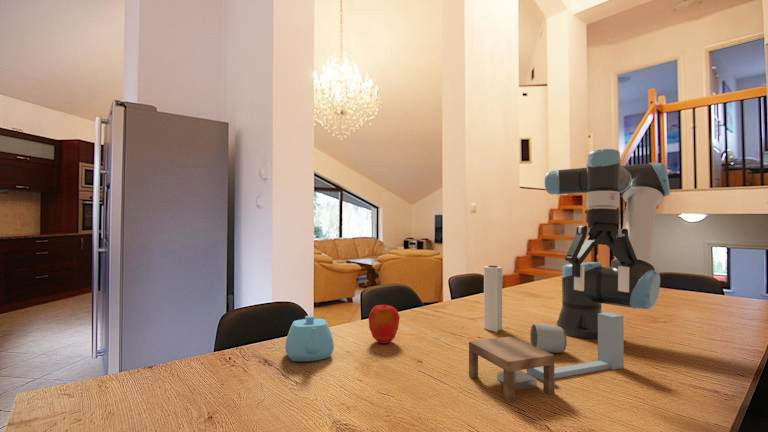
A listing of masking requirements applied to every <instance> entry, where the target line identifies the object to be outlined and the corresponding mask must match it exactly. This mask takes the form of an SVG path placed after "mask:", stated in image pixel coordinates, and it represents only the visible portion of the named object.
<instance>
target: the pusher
mask: <svg viewBox="0 0 768 432" xmlns="http://www.w3.org/2000/svg"><path fill="white" fill-rule="evenodd" d="M624 321H625V320H624V315H622V314H617V313H615V312H610V311H609V312H608V311H607V312H602V313H598V338H597V361H596V360H595V361H590V362H583V363H578V364H570V365H566V366H560V367H554V385H555V384H556V381H555V379H559V378H565V377H572V376H575V375H582V374H586V373H593V372H600V371H605V370H618V369H623V368H625V367H624V365H625V364H624V362H625V361H624V360H625V359H624V358H625V357H624V355H625V352H624V351H625V348H624V347H625V345H624V343H625V342H624V339H625V338H624V336H625V335H624V332H625V330H624ZM526 374H528V375H530V376H532V377H534V378H536V379H537V380H538V381H541V382H543V383H544V368H542V367H536V368H530V369H526Z"/></svg>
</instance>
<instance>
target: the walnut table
mask: <svg viewBox="0 0 768 432" xmlns="http://www.w3.org/2000/svg"><path fill="white" fill-rule="evenodd" d="M479 357H481V358H482V359H485V360H486V361H487V362H489V363H491V364H493V365H495V366H497V367H498V368H501V369H502V370H503V372H504V383H503V400H504V401H506V402H508V403H511V402H514V401H515V390H514V371H518V370H521V371H523V370H527V369H530V368H536V367H539V368H542V367H543V370H544V382H543V392H545V393H547V394H548V395H550V394H555V384H554V368H555V354H554V353H551V352H546V351H544V350H541V349H539V348H536V347H534V346H532V345H531V344H529V343H527V342H524V341H522V340H519V339H517V338H515V337H512V336H505V337H504V336H503V337H496V338H494V337H493V338H487V339H486V338H485V339H479V340H471V341H468V377H469V378H471V379H474V378H475V379H477V378H479Z"/></svg>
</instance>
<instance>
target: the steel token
mask: <svg viewBox="0 0 768 432" xmlns="http://www.w3.org/2000/svg"><path fill="white" fill-rule="evenodd" d="M496 374H497V375H496V379H497V381H499V382H500V383H502V384H504V371H501V372H500V371H499V372H497V373H496ZM535 387H538V379H537V378H535V377H533V376H531V375H529V374H527V372H525V371H523V370H518V371H514V391H519V390H524V389H529V388H535Z"/></svg>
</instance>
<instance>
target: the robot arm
mask: <svg viewBox="0 0 768 432" xmlns="http://www.w3.org/2000/svg"><path fill="white" fill-rule="evenodd" d="M586 160H587V161H586V167H579V168H569V169H568V168H567V169H556V170H550V171H548V172H547V173H546V174H545V176H544V188H545V191H546V192H547V194H549V195H557V196H558V195H574V194H586V208H587V210H586V212H585V213H586V219H585V220H586V221H585V223H586V224H587V225H577V227H576V231H575V232H576V233H575V236H574V237H573V240H572V242H571V244H570V246H569V248H568V250H567V253H566V255H565V257H564V260H565V261H566V262H568V263H567V264H565V265H563V266H562V272H561V273H562V274H561V301H562V303H561V310H560V311H559V316H558V319H557V321H556V326H558V327H561V328H563V329H564V331H565V334H566V336H571V337H575V338H583V339H598V313H603V311H602V304H604V305H611V306H616V307H617V306H618V307H624V308H625V307H626V308H630V309H631V308H632V309H643V310H649V309H651V308H653V307H654V306H655V304H656V303H657V300H658V298H659V294H660V289H661V276H660V272H659V271H656V268H655V266H654V265H653V264H652V263H651V255H652V246H653V237H654V230H655V223H656V222H655V221H656V213H657V206H658V205H659V204H661V203H662V201H663V199H664V197H667V196H669V195H670V194H671V190H670V189H671V188H670V181H669V175H668V169H667V166H666V164H664V163H662V162H649V163H642V164H628V165H627V164H626V165H622V164H621V162H622V160H621V153H620V151H619V150H618V149H614V148H602V149H594V150H592V151H590V152H589V153H588V155H587V159H586ZM620 198H622V199H623V201H624V202H625V203H626V204H625V205H626V206H625V210H624V211H625V212H624V217H623V225H622V228H618V224H620V219H621V218H620V215H621V213H620V210H619V209H618V208H620V206H621V205H620V200H621V199H620ZM587 235H588V236H587ZM598 245H603V246H604V245H605V246H607V247H608V248H609V250H611V252H612V254H613V255H614V257H615V258H614V259H612V260H611V263H610V267H607V266H606V267H604V266H603V265H602V262H599V261H594V262H593V261H590V262H589V261H586V262H585V261H584V260H585V259H586V258H587V257H588V255H589V254H590V253H591V251H593V249H595V247H596V246H598Z"/></svg>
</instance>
